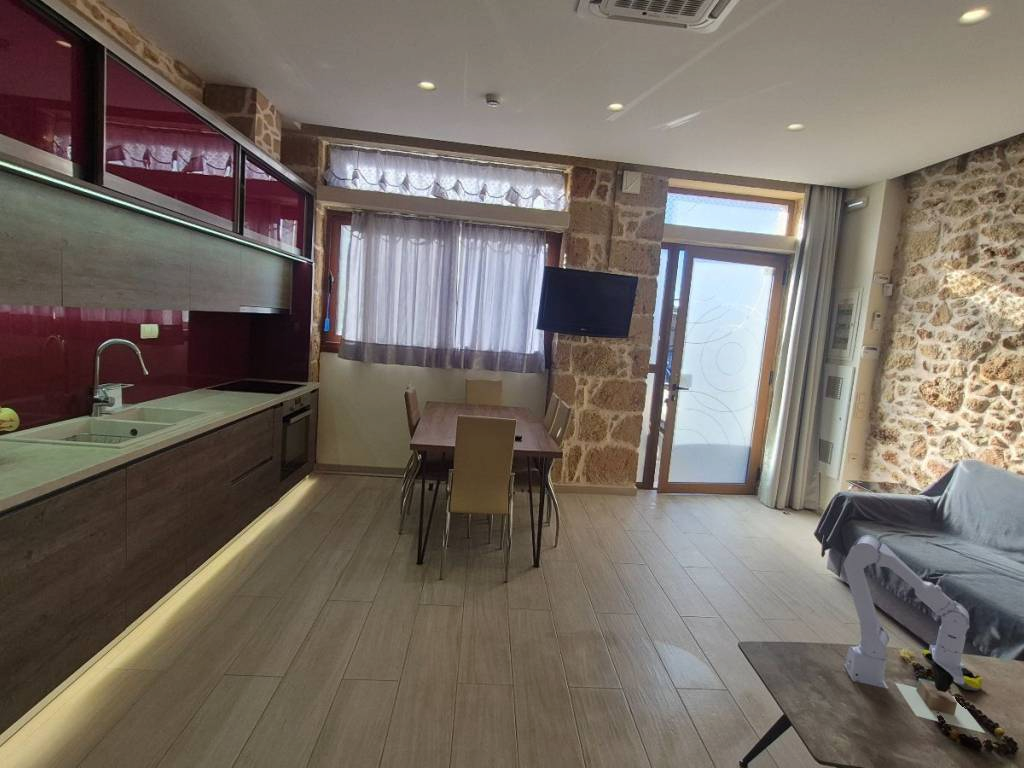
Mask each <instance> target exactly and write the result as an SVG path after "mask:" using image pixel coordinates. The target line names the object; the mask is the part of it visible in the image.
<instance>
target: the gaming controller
mask: <svg viewBox="0 0 1024 768" xmlns="http://www.w3.org/2000/svg"><path fill="white" fill-rule="evenodd" d="M922 656H923V658H924V660H925V661H926V662H927V664H929V665H930V666H931V663H930V661H934V660H933V658H932V653H931V652H930V651H929V650H926V649H924V650H923V651H922ZM961 669H962V674H963V676H964V678H965V681H964V684H959V683H955V682H953V683H954V684H956V685H958V686H959V687H961V688H962V689H963V690H967V691H975V692H976V691H978V692H979V691H980V690H982V684H983V679H984V677H983V676H981V675H976V676H975V675H974V674H973V672H972V671H970V670H969V669H967V667H964V668H961Z"/></svg>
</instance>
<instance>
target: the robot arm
mask: <svg viewBox="0 0 1024 768" xmlns="http://www.w3.org/2000/svg"><path fill="white" fill-rule="evenodd" d="M874 563H876V566H877V567H883V568H889V569H890V570H891V571H892V572H894V573H895V574H896V575H897V576H898V577H899V578H901V579H902V580H903V581H904V582H906V583H907V584H908V585H910V586H911V587H912V588H913V589H914V595H915V596H916V597H917V598H918V599H919V600H921V601H922V603H924V604H925V605H926V606H927V607H929V609H930V610H931V611H932V612H934V613H935V614H936V615H938V616H939V617H940V618H941V623H940V624H941V625H939V628H938V633H937V638H936V643H935V645H933V644H930V645H929V648H928V651H930V652H931V653H932V658H933V660H934V661H930V663H931V665H930V666H931V668H932V671H933V672H932V673H933V679H934V682H935V687H936V689H937V690H938V691H942V692H946V691H949V689H950V687H951V685H952V684H953V683H954V682H955V683H954V684H956V683H959V684H964V681H965V678H964V676H963V674H962V669H961V668H964V667H965V664H963V662H962V657H963V652H964V648H965V642H966V639H967V637H966V634H967V631H968V630H969V628H970V614H969V612H968V610H967V609H966V608H965V606H964V605H963V604H961V603H959V602H957V601H956V600H952V599H951V598H950V597H949V596H948V595H947V594H946V593H944V592H943V591H942V587H941V586H940V585H938V584H936V585H935V584H934V583H933V582H931V581H927V580H923V579H922V578H921V577H920V576H918V574H917V573H916V572H915V571H914V570H912V569H911V568H910V567H909V566H908V565H907V564H906V563H905V562H904V561H903V560H902V559H900V558H899V557H898V556H897V555H896V554H895V553H894V552H893V551H892V550H891V548H889V547H888V545H886V544H884V543H881V541H880V540H879V539H878V538H877V537H876V536H874V535H866V534H865V535H862V536H860V537H859V538H858V539H857V540H856V541H854V543H853V545H852V547H851V548H850V549H849V551H848V554H847V556H846V557H845V559H844V563H843V568H844V572H845V575H846V579H847V582H848V586H849V589H850V592H851V595H852V596H851V597H852V599H853V602H854V605H855V609H856V612H857V617H858V621H859V629H860V635H861V638H860V639H861V640H860V643H859V645H858V646H852V645H851V646H849V647H848V649H847V653H846V659H845V663H844V667H845V670H846V671H847V674H848V675H849V677H850V679H851V680H852V682H853V683H855V682H858V683H862V684H866V685H871V686H874V687H879V688H882V689H883V688H884V689H889V686H888V685H887V684H886V682H885V681H884V677H885V671H886V665H887V662H888V661H887V660H888V653H887V647H888V643H889V642H890V636H889V634H888V632H887V631H886V630H885V629H884V626H883V625H882V622H881V621H880V619H879V617H878V615H877V611H876V607H875V604H874V601H873V597H872V593H871V591H870V587H869V584H868V580H867V576H866V574H865V570H864V569H865V568H867V566H869V565H873V564H874ZM965 668H966V667H965Z"/></svg>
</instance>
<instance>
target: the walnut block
mask: <svg viewBox="0 0 1024 768" xmlns="http://www.w3.org/2000/svg"><path fill="white" fill-rule="evenodd" d="M915 688H916V691H917V692H918V694H919V695H920V697H921V698H922V700H923V701H924V703H925V704H926V705H927V707H928V708H929V710H934V711H938V712H942V713H946V714H950V715H955V710H956V705H957V702H956V701H955V700H954V698H953V697H952V696H953V695H952V694H951V693H950V692H949V690H947V691H946V692H942V691H938V690H937V689H936V687H935V681H932V680H928V679H922V678H918V679H917V684H916V687H915Z"/></svg>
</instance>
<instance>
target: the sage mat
mask: <svg viewBox="0 0 1024 768" xmlns="http://www.w3.org/2000/svg"><path fill="white" fill-rule="evenodd" d="M894 685H896V687H897V689H898V690H899V692H900V693H901V695H902V697H903V698H904V700H905V701H906V703H907V704H908V706H909V708H910V709H911V710H912V712H913V713H914V715H915V716H916V717H918V718H923V719H926V720H930V721H934V722H938V723H939V721H938V718H937V713H936V711H934V710H929V708H928V707H927V705H926V704H925V703H924V701H923V700H922V698H921V697H920V695H919V694H918V692H917V691H916V688H917V687H914V686H911V685H906V684H902V683H898V682H894ZM951 696H952V697H953V698H954V700H955V701H956V699H955V697H956V696H954V695H951ZM956 702H957V701H956ZM964 707H965V706H964ZM964 707H962V706H961V705H960V704H959V703H958V702H957V705H956V710H955V715H950V714H946V713H942V712H939V714H940V715H941V716H942V717H943V718H944V720H945V721H946V723H945V724H947V725H951V726H955V727H959V728H963V729H967V730H970V731H974V732H979V733H983V734H986V732H985V730H984V729H983V728H982V726H980V724H979V723H978V722H977V720H976V719H975V718H974V716H972V714H971V713H970V711H968V709H967V708H966V707H965V708H966V709H965V708H964Z"/></svg>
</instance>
